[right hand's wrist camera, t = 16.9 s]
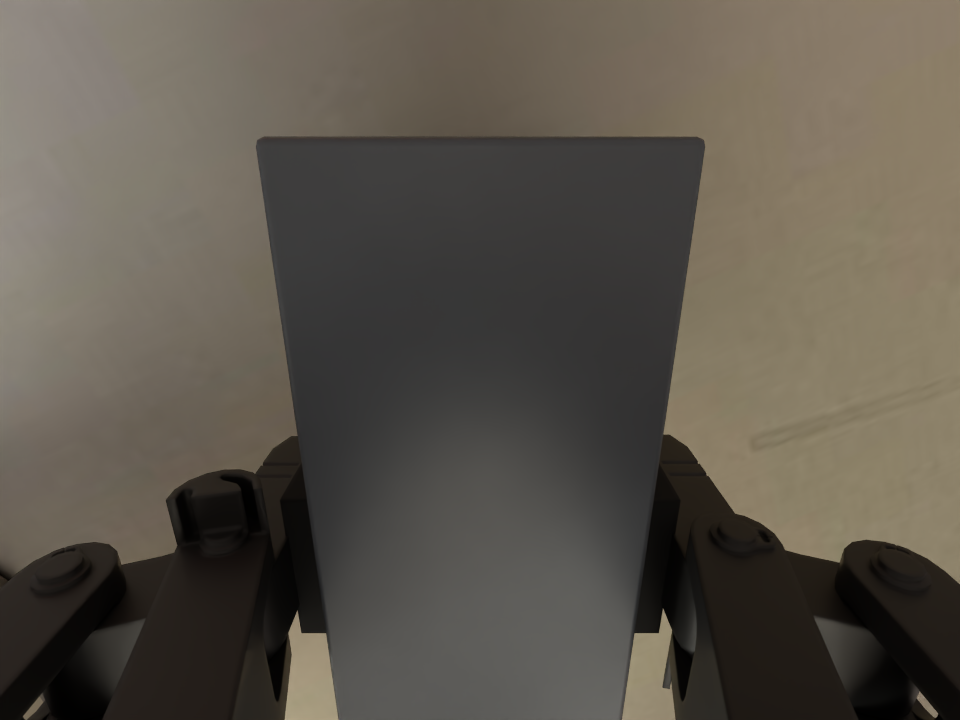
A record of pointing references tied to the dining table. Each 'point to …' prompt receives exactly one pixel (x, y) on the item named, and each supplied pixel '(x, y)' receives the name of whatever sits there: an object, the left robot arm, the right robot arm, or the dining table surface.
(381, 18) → the dining table surface
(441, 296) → the beam
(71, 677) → the right robot arm
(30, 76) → the dining table surface
